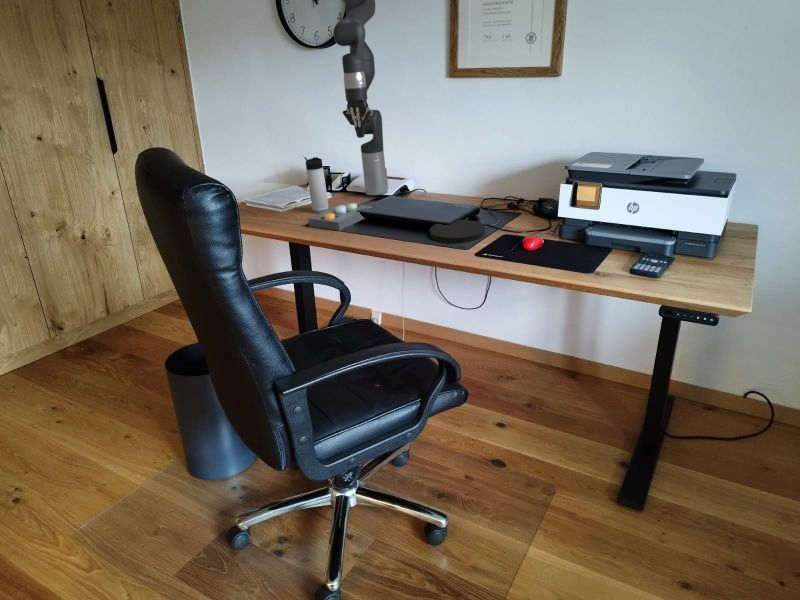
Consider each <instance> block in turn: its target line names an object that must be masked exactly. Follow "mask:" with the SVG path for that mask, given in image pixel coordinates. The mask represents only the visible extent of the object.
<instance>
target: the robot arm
mask: <svg viewBox="0 0 800 600" xmlns="http://www.w3.org/2000/svg"><path fill="white" fill-rule="evenodd" d="M344 7H345V17H344V18H342V19H341V20H340V21H338V22H337V23H335V26H334V29H333V33H332V34H333V40H334V41H335V43H336V44H337V46H340V47H348V46H349V53H346V54H344V55H342V57H341V61H342V62H341V63H342V70H343V84H344V85H343V86H344V95H345V101H346V102H347V104H346V108H345V110H343V111H342V114H343V116H344V117H345V119H346V121H348V123H349V124H350V126H353V127H354V131H355V133H356V137H357V138H359V139H362V138H364V137H365V135H372V138H371V139H370V140H369V141H366V142H365V143H362V144H361V145H360V152H361V162H362V172H363V180H364V191H365V194H366V195H367V196H368V195H369V196H378V195H380V196H381V195H384V194H387V193H388V191H387V189H388V190H389V183H388V173H387V171H388V170H387V167H386V161H385V150H384V136H383V134H384V133H383V117H382V113H381V112H380V110H379V109H371V108H370V107H369V104H368V101H367V100H368V91H369V88H370V86H371V85H372V83H373V81H374V77H375V74H376V69H375V68H376V66H375V57H374V53H373V51H372V50H371V48H370V46H369V45H368V44H367V42H366V28H365V25H366V24H367V23H368V21H370V20H371V19H372V18H373V16H374V15H375V12H376V0H344Z"/></svg>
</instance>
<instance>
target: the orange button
mask: <svg viewBox="0 0 800 600" xmlns="http://www.w3.org/2000/svg"><path fill="white" fill-rule="evenodd" d="M323 217H324V219H325V220H332V219H334V218H335V214H334V213H326V214H324V215H323Z"/></svg>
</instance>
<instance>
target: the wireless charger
mask: <svg viewBox="0 0 800 600" xmlns="http://www.w3.org/2000/svg"><path fill="white" fill-rule="evenodd" d="M457 220H458V221H457V222H455V223H453V224H451V225H442V224H438V223H436V224H434V225H432V226H431V227H430V228H429V236H430V238H431V239H432V240H433V241H437V242H439V243H445V244H446V243H447V244H463V243H469V242H474V241H477V240H479V239H481V238H483V237H484V236H485V235H486V226H485V224H483V223H481V222H480V221H479V222H478V221H475V220H471V219H470V220H468V219H457Z"/></svg>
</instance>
